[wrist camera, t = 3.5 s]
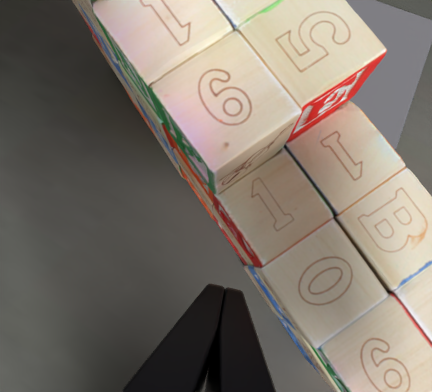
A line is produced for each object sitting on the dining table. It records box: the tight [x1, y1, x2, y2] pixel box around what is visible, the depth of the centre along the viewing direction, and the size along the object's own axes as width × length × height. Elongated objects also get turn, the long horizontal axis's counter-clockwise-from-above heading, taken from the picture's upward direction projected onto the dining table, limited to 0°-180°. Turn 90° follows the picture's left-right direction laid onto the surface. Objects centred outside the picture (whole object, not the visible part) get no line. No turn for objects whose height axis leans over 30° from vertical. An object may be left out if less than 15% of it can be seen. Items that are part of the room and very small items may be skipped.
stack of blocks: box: [72, 0, 432, 392], centre depth 16 cm, size 21×6×12 cm, turn 34°
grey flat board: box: [346, 0, 432, 151], centre depth 24 cm, size 10×16×1 cm, turn 67°
